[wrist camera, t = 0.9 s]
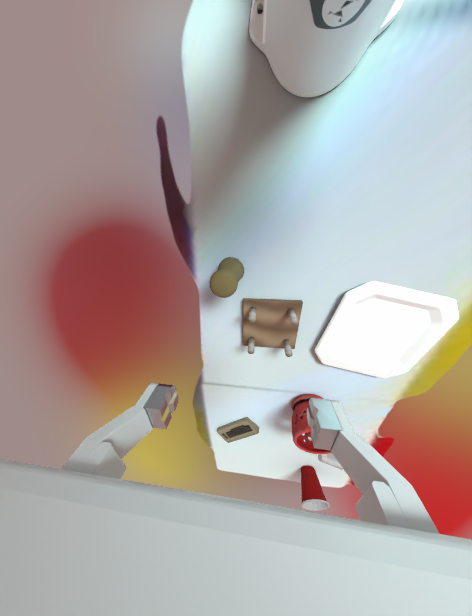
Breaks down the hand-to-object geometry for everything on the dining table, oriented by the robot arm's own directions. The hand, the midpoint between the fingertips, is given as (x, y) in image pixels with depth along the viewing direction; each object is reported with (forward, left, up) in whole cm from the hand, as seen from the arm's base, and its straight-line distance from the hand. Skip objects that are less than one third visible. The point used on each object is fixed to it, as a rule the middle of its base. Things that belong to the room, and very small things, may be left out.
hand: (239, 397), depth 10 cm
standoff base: (+15, +5, -33) cm, 36 cm away
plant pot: (+46, +20, -33) cm, 60 cm away
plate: (+16, +31, -33) cm, 48 cm away
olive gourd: (+1, -5, -33) cm, 33 cm away
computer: (+66, -5, -33) cm, 74 cm away
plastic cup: (+92, +28, -33) cm, 102 cm away
